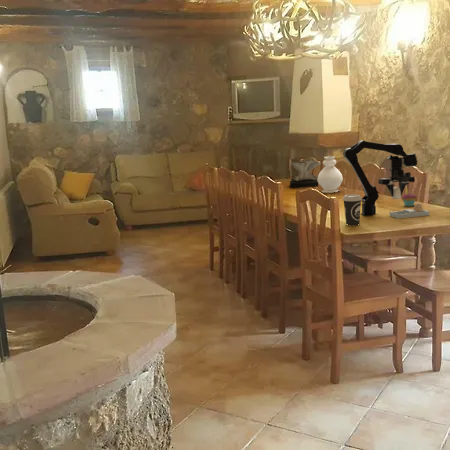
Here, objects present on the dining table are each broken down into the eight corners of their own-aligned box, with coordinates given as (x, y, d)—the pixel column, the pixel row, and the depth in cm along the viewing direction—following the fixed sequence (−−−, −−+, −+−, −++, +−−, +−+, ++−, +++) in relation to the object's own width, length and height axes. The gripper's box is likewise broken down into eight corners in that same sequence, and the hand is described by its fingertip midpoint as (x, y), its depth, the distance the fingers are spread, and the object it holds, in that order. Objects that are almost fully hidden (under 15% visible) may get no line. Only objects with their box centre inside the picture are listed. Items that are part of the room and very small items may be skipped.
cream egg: (394, 199, 289) (394, 187, 288) (390, 198, 294) (390, 186, 293) (402, 198, 290) (402, 187, 289) (398, 197, 295) (398, 186, 293)
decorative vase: (312, 191, 390) (311, 157, 385) (333, 188, 397) (332, 155, 392) (327, 194, 374) (326, 158, 369) (348, 191, 381) (347, 156, 376)
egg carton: (397, 219, 277) (397, 213, 276) (389, 216, 285) (389, 210, 284) (429, 216, 280) (429, 209, 279) (421, 213, 288) (421, 207, 287)
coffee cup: (359, 222, 277) (359, 193, 274) (364, 225, 267) (364, 196, 264) (341, 223, 276) (340, 194, 273) (345, 227, 267) (345, 197, 264)
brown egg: (416, 215, 280) (416, 204, 279) (411, 214, 285) (411, 202, 284) (424, 214, 281) (424, 203, 280) (419, 213, 286) (419, 202, 284)
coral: (321, 184, 427) (320, 157, 423) (322, 187, 408) (322, 159, 403) (289, 185, 431) (288, 158, 426) (289, 189, 411) (288, 161, 407)
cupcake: (406, 207, 308) (407, 186, 305) (398, 205, 316) (398, 185, 314) (419, 205, 310) (420, 185, 308) (411, 203, 318) (411, 183, 316)
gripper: (387, 170, 279) (387, 199, 282) (420, 167, 282) (420, 196, 286) (377, 168, 290) (378, 196, 293) (409, 165, 293) (409, 193, 296)
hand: (396, 195), depth 292 cm, fingers closed on cream egg, 5 cm apart
